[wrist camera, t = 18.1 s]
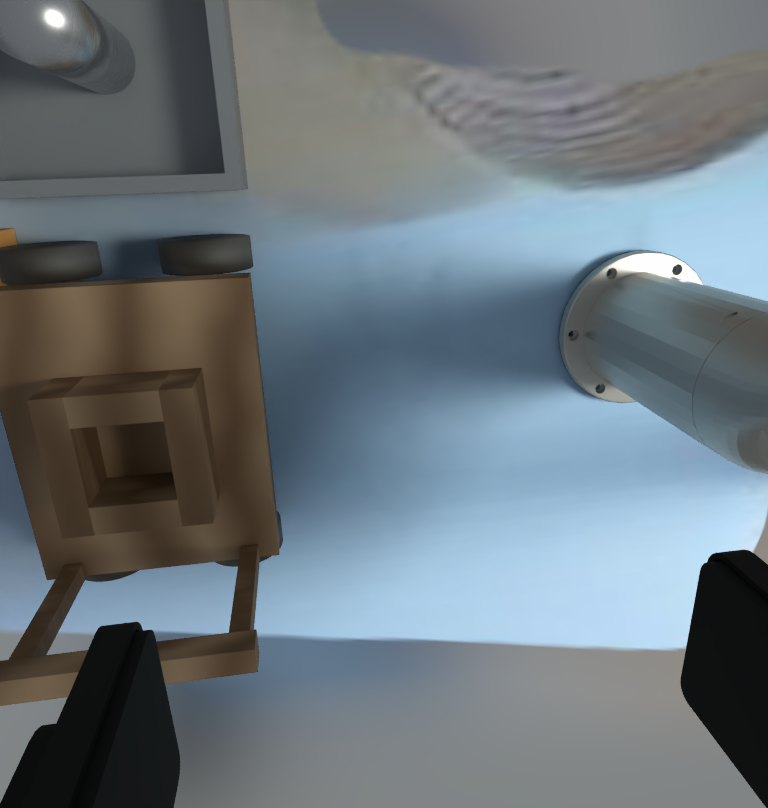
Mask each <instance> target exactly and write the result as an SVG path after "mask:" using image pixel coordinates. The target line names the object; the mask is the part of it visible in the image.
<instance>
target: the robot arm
mask: <svg viewBox="0 0 768 808" xmlns="http://www.w3.org/2000/svg"><path fill="white" fill-rule="evenodd" d="M672 269H673V270H672ZM608 270H609V273H608V274H607V275H606V273H607V271H608ZM570 332H571V334H570V335H569V333H570ZM568 335H569V336H568ZM559 340H560V352H561V355H562V359H563V363H564V365H565V367H566V369H567V371H568V373H569V375H570V376H571V377H572V378H573V379H574V381H575V382H576V383H577V384H578V385H579V386H580V387H582V388H583V389H584V390H585V391H587V392H588V393H590V394H592V395H593V396H595V397H597V398H600V399H603V400H606V401H609V402H617V403H628V402H638V403H640V404H641V405H643V406H644V407H646V408H648V409H649V410H651V411H652V412H654V413H655V414H657V415H658V416H660V417H661V418H663V419H664V420H666V421H668V422H669V423H671V424H672V425H674V426H675V427H677V428H678V429H680V430H681V431H683V432H684V433H686V434H687V435H689V436H691V437H692V438H694V439H695V440H697V441H698V442H700V443H701V444H703V445H704V446H706V447H708V448H709V449H711V450H713V451H714V452H716V453H717V454H719V455H720V456H722V457H723V458H725V459H726V460H728V461H730V462H732V463H734V464H736V465H738V466H740V467H742V468H745V469H748V470H751V471H754V472H758V473H764V474H768V301H764V300H760V299H756V298H752V297H749V296H745V295H741V294H737V293H733V292H729V291H725V290H722V289H718V288H714V287H710V286H706V285H703V283H702V281H701V279H700V278H699V276H698V275H697V274H696V272H695V271H694V270H693V269H692V268H691V267H690V266H689V265H688V264H686V263H685V262H684V261H682V260H680V259H678V258H676V257H675V256H672V255H668V254H665V253H661V252H655V251H648V250H647V251H633V252H629V253H625V254H621V255H618V256H616V257H614V258H612V259H610V260H607V261H605V262H604V263H603V264H601V265H600V266H598V267H597V268H595V269H594V270H593V271H592V272H591V273H590V274H589V275H588V276H587V277H586V278H585V279H583V280H582V281H581V283H580V284H579V286H578V287H577V288H576V290H575V291H574V293H573V294H572V296H571V298H570V300H569V302H568V304H567V306H566V308H565V311H564V314H563V317H562V321H561V326H560V335H559ZM597 385H598V386H597ZM596 386H597V387H596ZM681 689H682V692H683V695H684V697H685V699H686V701H687V703H688V704H689V705H690V707H691V708H692V709H693V711H694V712H695V713H696V715H697V716H698V717H699V719H700V720H701V721H702V723H703V724H704V725H705V727H706V728H707V729H708V731H709V732H710V733H711V735H712V736H713V737H714V739H715V740H716V741H717V743H718V744H719V745H720V747H721V748H722V749H723V751H724V752H725V753H726V754H727V756H728V757H729V759H730V760H731V761H732V763H733V764H734V765H735V767H736V768H737V769H738V771H739V772H740V773H741V774H742V776H743V777H744V778H745V780H746V781H747V782H748V784H749V785H750V787H751V788H752V789H753V791H754V792H755V793H756V794H757V796H758V797H759V799H760V800H761V801H762V803H763V804H764V805H765V806H766V808H768V565H767V564H766V563H765V562H764V561H762V560H761V559H760V558H759V557H758V556H756V555H755V554H754V553H752V552H750V551H748V550H737V551H729V552H721V553H715V554H712V555H711V556H710V557H709V559H708V562H707V563H705V564H703V566H702V567H701V570H700V575H699V581H698V586H697V592H696V597H695V603H694V608H693V614H692V619H691V625H690V631H689V636H688V642H687V647H686V653H685V659H684V664H683V669H682V675H681ZM179 774H180V755H179V749H178V744H177V739H176V735H175V729H174V725H173V720H172V715H171V710H170V706H169V701H168V696H167V691H166V687H165V682H164V677H163V672H162V667H161V662H160V658H159V653H158V648H157V643H156V639H155V635H154V632H153V631H152V630H146V631H143V630H142V626H141V625H140V623H139V622H132V623H123V624H115V625H107V626H101V627H99V628H98V630H97V632H96V633H95V636H94V638H93V640H92V643H91V645H90V647H89V650H88V652H87V654H86V656H85V659H84V661H83V663H82V666H81V668H80V670H79V673H78V675H77V677H76V680H75V682H74V684H73V687H72V689H71V691H70V693H69V696H68V698H67V700H66V703H65V705H64V707H63V710H62V712H61V714H60V717H59V719H58V721H57V724H50V725H43V726H41V727H40V728H38V729H37V730H36V731H35V733H34V734H33V736H32V738H31V740H30V741H29V743H28V745H27V747H26V749H25V752H24V754H23V756H22V758H21V760H20V763H19V765H18V767H17V769H16V771H15V773H14V775H13V777H12V779H11V782H10V784H9V786H8V788H7V790H6V792H5V795H4V797H3V799H2V801H1V803H0V808H174V802H175V797H176V792H177V786H178V780H179Z"/></svg>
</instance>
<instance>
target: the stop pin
mask: <svg viewBox="0 0 768 808" xmlns="http://www.w3.org/2000/svg"><path fill="white" fill-rule="evenodd" d="M0 50H2V51H3V52H5V53H6V54H8V55H10V56H12V57H14V58H16V59H19V60H21V61H23V62H26V63H28V64H30V65H33V66H35V67H37V68H40V69H42V70H44V71H47V72H49V73H51V74H54V75H56V76H58V77H61V78H63V79H66V80H68V81H70V82H73V83H75V84H77V85H80V86H82V87H84V88H87V89H89V90H91V91H94V92H96V93H99V94H107V95H109V94H115V93H118V92H121V91H122V90H124V89H125V88H126V87H127V86H128V85H129V84H130V82H131V81H132V79H133V77H134V73H135V67H136V62H135V56H134V52H133V49H132V47H131V45H130V43H129V42H128V40H127V39H126V37H125V36H124V35H123V34H122V33H121V32H120V31H119V30H117V29H116V28H115V27H114V26H113V25H111V24H110V23H109V22H108V21H107V20H105V19H104V18H103V17H102V16H101V15H99V14H98V13H97V12H96V11H95V10H93V9H92V8H91V7H90V6H89V5H87V4H86V3H85V2H84V1H83V0H0Z"/></svg>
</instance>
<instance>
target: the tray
mask: <svg viewBox="0 0 768 808" xmlns="http://www.w3.org/2000/svg"><path fill="white" fill-rule="evenodd" d="M83 1H84V2H85V3H86V4H87V5H89V6H90V7H91V8H92V9H93V10H95V11H96V12H97V13H98V14H99V15H101V16H102V17H103V18H104V19H105V20H107V21H108V22H109V23H110V24H111V25H113V26H114V27H115V28H116V29H117V30H119V31H120V32H121V33H122V34H123V35H124V36H125V37H126V39H127V40H128V42H129V43H130V45H131V47H132V49H133V52H134V56H135V62H136V67H135V73H134V77H133V79H132V81H131V82H130V84H129V85H128V86H127V87H126V88H125V89H124V90H122V91H121V92H118V93H115V94H109V95H107V94H99V93H96V92H94V91H91V90H89V89H87V88H84V87H82V86H80V85H77V84H75V83H73V82H70V81H68V80H66V79H63V78H61V77H58V76H56V75H54V74H51V73H49V72H47V71H44V70H42V69H40V68H37V67H35V66H33V65H30V64H28V63H26V62H23V61H21V60H19V59H16V58H14V57H12V56H10V55H8V54H6V53H5V52H3V51H2V50H0V199H9V198H35V197H62V196H88V195H115V194H141V193H168V192H194V191H221V190H244V189H248V184H247V175H246V166H245V156H244V147H243V137H242V128H241V119H240V109H239V100H238V90H237V81H236V72H235V62H234V53H233V43H232V34H231V25H230V15H229V6H228V0H83Z"/></svg>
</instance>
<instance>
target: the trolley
mask: <svg viewBox="0 0 768 808" xmlns="http://www.w3.org/2000/svg"><path fill="white" fill-rule="evenodd" d="M157 243H158V249H159V256H160V262H161V268H162V273H163V274H167V275H176V276H180V277H161V278H143V279H124V280H106V281H87V282H68V283H58V282H66V281H74V280H80V279H86V278H91V277H95V276H98V275H101V274H102V273H103V271H102V266H101V261H100V256H99V250H98V245H97V242H95V241H60V242H44V243H32V244H22V245H13V246H6V247H1V248H0V279H1V282H2V283H4V284H12V285H13V286H0V412H1V416H2V419H3V423H4V426H5V430H6V434H7V437H8V441H9V444H10V448H11V452H12V455H13V459H14V463H15V466H16V470H17V473H18V477H19V481H20V484H21V488H22V491H23V495H24V499H25V502H26V506H27V509H28V513H29V517H30V520H31V524H32V528H33V531H34V535H35V538H36V542H37V546H38V549H39V553H40V556H41V560H42V564H43V567H44V571H45V575H46V578H47V580H52V579H56V580H55V582H54V584H53V585H52V587H51V589H50V590H49V592H48V594H47V595H46V597H45V599H44V600H43V602H42V604H41V606H40V607H39V609H38V611H37V612H36V614H35V616H34V617H33V619H32V621H31V623H30V624H29V626H28V628H27V629H26V631H25V633H24V634H23V636H22V638H21V640H20V642H19V643H18V645H17V646H16V648H15V650H14V652H13V653H12V655H11V657H10V658H9V660H5V661H0V706H3V705H11V704H18V703H26V702H33V701H41V700H49V699H56V698H64V697H68V696H69V693H70V691H71V689H72V687H73V684H74V682H75V680H76V677H77V675H78V673H79V670H80V668H81V666H82V663H83V661H84V659H85V656H86V654H87V652H88V650H86V651H78V652H70V653H62V654H53V655H46V654H47V652H48V650H49V649H50V647H51V645H52V643H53V641H54V639H55V637H56V635H57V633H58V631H59V629H60V627H61V625H62V623H63V621H64V620H65V618H66V616H67V614H68V612H69V610H70V608H71V606H72V604H73V602H74V600H75V598H76V596H77V594H78V592H79V590H80V589H81V587H82V585H83V583H84V581H85V580H88V581H95V582H102V581H111V580H116V579H119V578H123V577H126V576H128V575H131V574H133V573H135V572H137V571H139V570H144V569H153V568H162V567H171V566H180V565H189V564H199V563H208V562H216V563H218V564H221V565H225V566H238V571H237V578H236V586H235V593H234V600H233V607H232V614H231V621H230V629H229V633H224V634H216V635H208V636H200V637H192V638H184V639H175V640H167V641H159V642H156V643H157V648H158V653H159V658H160V662H161V667H162V672H163V677H164V682H165V684H170V683H178V682H186V681H193V680H201V679H208V678H216V677H224V676H231V675H239V674H246V673H254V672H258V662H259V646H258V638H257V631H256V630H254V620H255V609H256V597H257V585H258V574H259V562H261V561H263V560H265V559H267V558H269V557H271V556H272V555H279V549H280V547H281V545H282V542H283V537H282V528H281V519H280V514H279V513H278V511H277V510H276V501H275V492H274V483H273V474H272V465H271V455H270V446H269V437H268V428H267V419H266V410H265V401H264V392H263V383H262V374H261V365H260V356H259V347H258V338H257V328H256V319H255V310H254V301H253V292H252V283H251V274H250V273H236V274H223V273H231V272H237V271H242V270H247V269H250V268H252V267H253V260H252V251H251V241H250V236H249V235H244V234H211V235H194V236H183V237H174V238H167V239H162V240H158V241H157ZM214 274H217V275H214ZM47 283H50V284H47ZM30 284H31V285H30Z"/></svg>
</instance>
